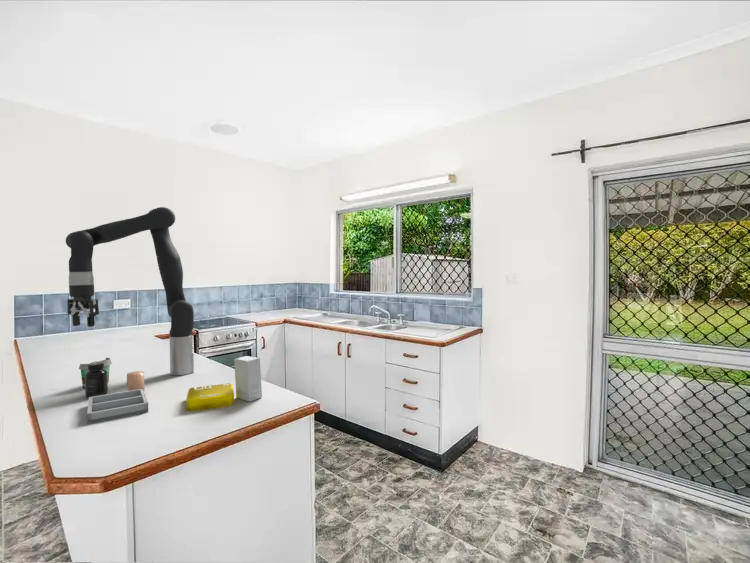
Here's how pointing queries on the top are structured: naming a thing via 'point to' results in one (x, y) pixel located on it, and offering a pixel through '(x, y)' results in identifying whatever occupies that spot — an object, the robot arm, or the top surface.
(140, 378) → the peach rounded capsule
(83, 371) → the food container
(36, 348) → the top surface
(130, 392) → the rack
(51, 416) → the top surface
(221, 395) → the element tile
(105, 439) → the top surface
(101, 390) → the supplement bottle
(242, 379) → the skincare box
